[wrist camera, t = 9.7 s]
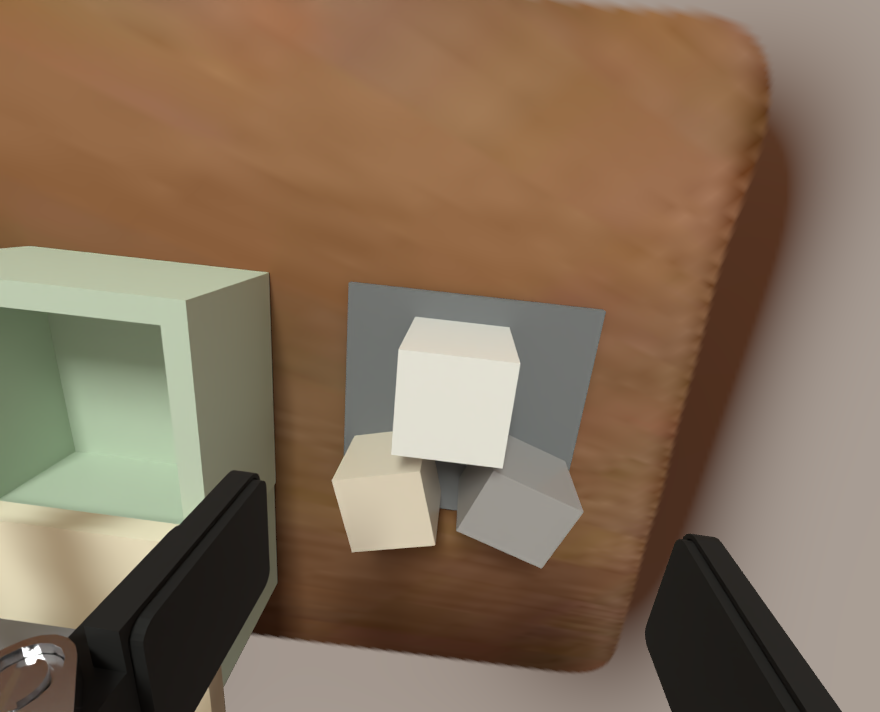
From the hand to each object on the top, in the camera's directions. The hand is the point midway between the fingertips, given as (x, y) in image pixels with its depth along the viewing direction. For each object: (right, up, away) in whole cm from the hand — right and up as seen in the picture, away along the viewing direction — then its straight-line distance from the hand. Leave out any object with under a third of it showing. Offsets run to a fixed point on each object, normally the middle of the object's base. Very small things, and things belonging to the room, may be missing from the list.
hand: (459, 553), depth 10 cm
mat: (+1, +2, +13) cm, 13 cm away
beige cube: (-3, -1, +14) cm, 14 cm away
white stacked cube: (0, +4, +11) cm, 12 cm away
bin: (-16, 0, +15) cm, 21 cm away
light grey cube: (+3, -2, +13) cm, 14 cm away
